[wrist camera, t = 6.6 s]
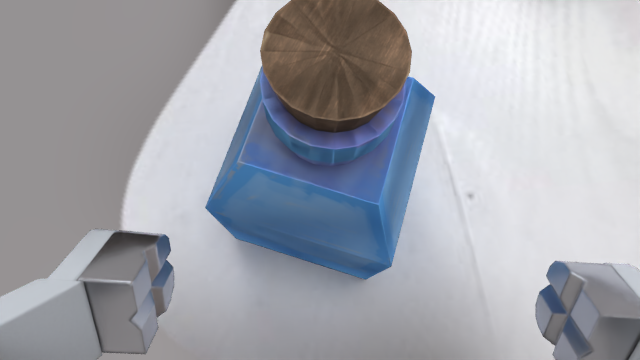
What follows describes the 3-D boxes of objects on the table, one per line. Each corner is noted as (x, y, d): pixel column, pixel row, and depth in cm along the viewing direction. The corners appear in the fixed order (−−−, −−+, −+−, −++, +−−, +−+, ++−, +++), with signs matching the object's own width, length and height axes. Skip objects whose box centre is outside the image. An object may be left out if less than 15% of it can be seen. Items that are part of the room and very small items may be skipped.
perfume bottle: (365, 279, 19) (449, 236, 8) (236, 238, 20) (137, 140, 8) (399, 155, 21) (507, -26, 10) (279, 120, 22) (247, -96, 10)
